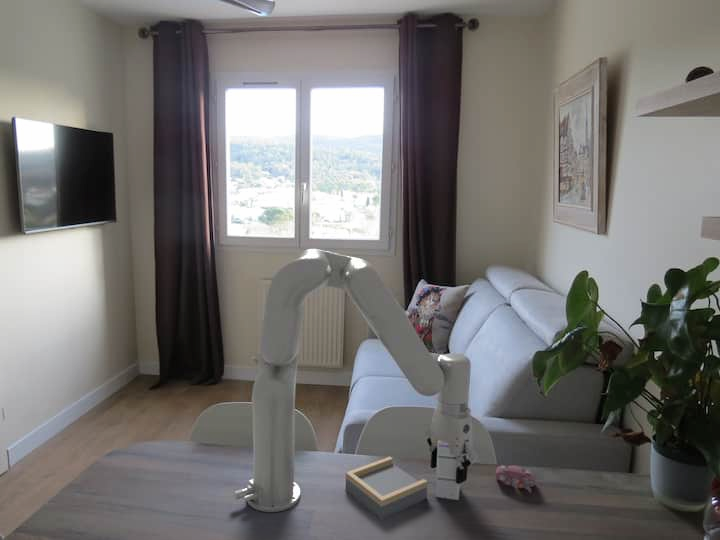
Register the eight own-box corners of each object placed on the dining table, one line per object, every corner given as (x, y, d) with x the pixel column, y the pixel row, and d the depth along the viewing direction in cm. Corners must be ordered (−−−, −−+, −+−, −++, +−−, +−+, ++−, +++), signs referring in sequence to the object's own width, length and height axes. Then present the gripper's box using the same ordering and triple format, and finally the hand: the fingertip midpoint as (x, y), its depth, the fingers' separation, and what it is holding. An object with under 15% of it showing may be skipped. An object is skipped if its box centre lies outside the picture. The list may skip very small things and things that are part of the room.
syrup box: (459, 500, 124) (462, 444, 122) (434, 497, 125) (437, 441, 123) (459, 487, 130) (463, 433, 128) (435, 484, 131) (438, 430, 129)
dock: (381, 518, 117) (382, 500, 116) (345, 489, 128) (345, 472, 127) (426, 498, 125) (427, 481, 124) (389, 472, 136) (389, 456, 135)
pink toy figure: (493, 488, 133) (494, 471, 129) (495, 473, 136) (496, 456, 132) (534, 497, 130) (536, 480, 126) (535, 481, 133) (537, 464, 129)
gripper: (491, 415, 120) (486, 485, 122) (437, 390, 133) (434, 454, 136) (469, 423, 115) (464, 496, 118) (415, 397, 129) (412, 463, 132)
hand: (448, 473), depth 127 cm, fingers closed on syrup box, 7 cm apart
